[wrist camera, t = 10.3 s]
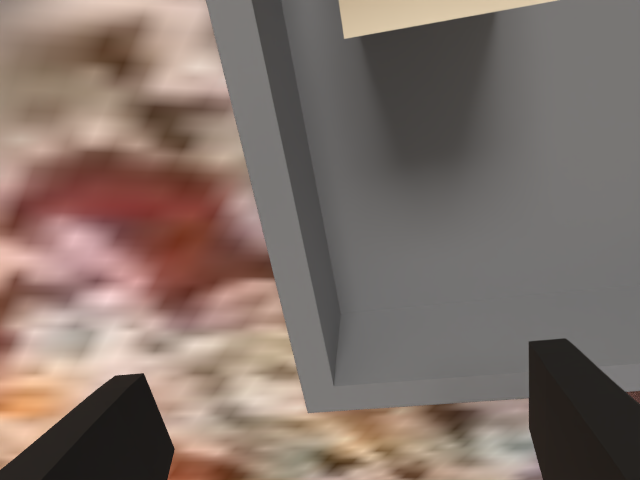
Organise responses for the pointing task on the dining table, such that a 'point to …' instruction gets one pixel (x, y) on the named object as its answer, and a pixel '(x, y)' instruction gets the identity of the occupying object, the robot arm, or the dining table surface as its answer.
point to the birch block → (414, 12)
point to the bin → (443, 192)
